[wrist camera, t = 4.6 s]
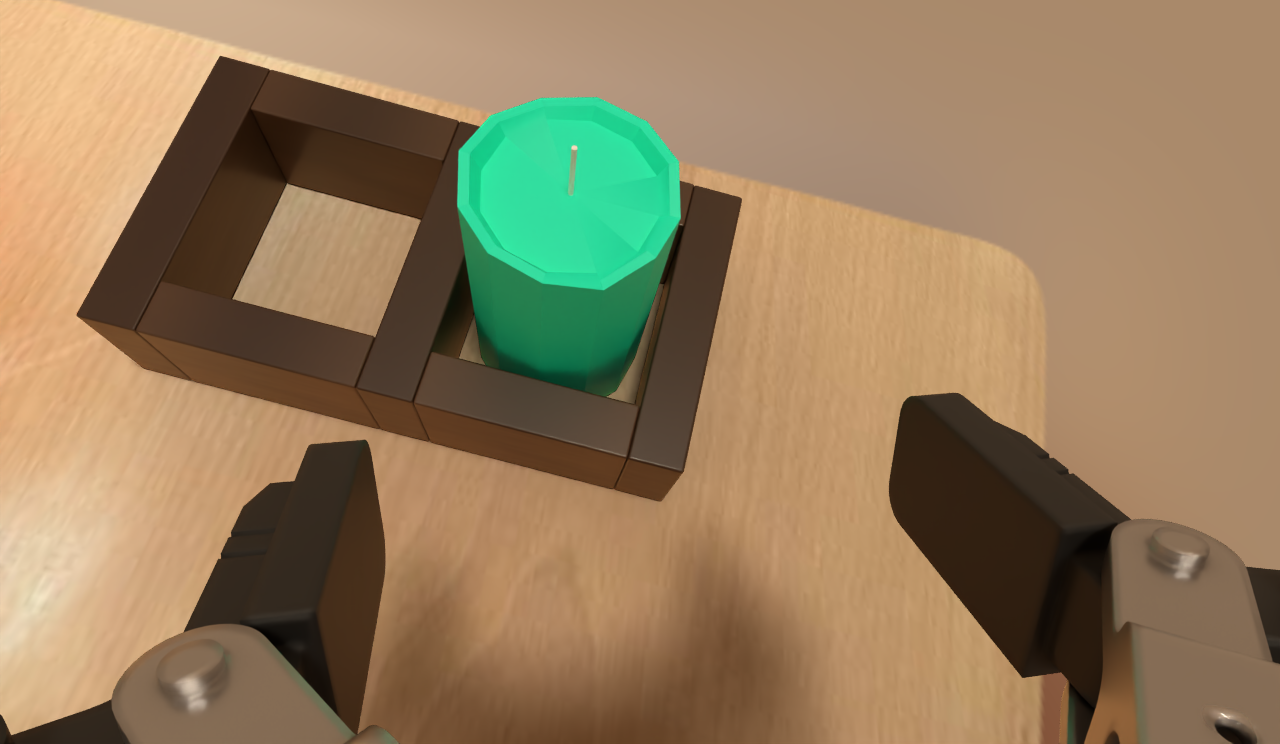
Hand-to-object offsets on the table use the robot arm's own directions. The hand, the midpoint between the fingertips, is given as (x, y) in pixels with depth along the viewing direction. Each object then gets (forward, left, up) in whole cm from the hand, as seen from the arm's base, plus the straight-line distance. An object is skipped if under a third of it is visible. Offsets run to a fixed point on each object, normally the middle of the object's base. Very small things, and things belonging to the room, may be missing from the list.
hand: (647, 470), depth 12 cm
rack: (+4, -11, -17) cm, 20 cm away
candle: (0, -9, -17) cm, 19 cm away
